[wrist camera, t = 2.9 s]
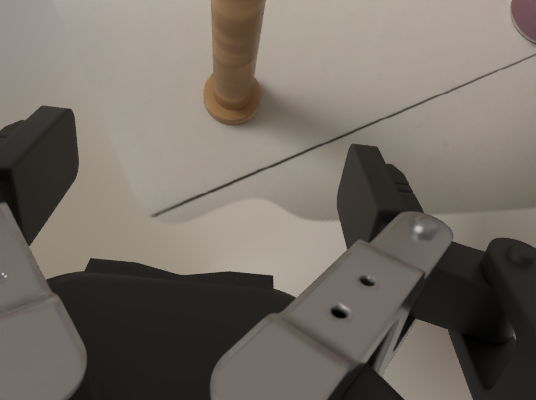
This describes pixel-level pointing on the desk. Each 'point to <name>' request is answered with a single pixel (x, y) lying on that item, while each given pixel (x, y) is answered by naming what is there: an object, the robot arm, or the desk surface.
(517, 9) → the beverage can
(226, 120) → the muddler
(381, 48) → the desk surface
